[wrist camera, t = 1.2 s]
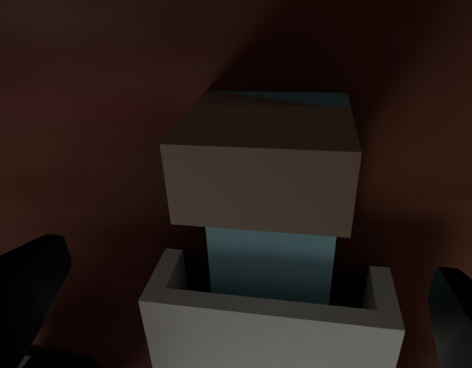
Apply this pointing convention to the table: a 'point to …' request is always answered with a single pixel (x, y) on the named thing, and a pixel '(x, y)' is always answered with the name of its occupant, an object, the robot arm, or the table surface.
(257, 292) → the cover plate
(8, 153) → the table surface
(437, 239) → the table surface
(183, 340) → the sleeve box
